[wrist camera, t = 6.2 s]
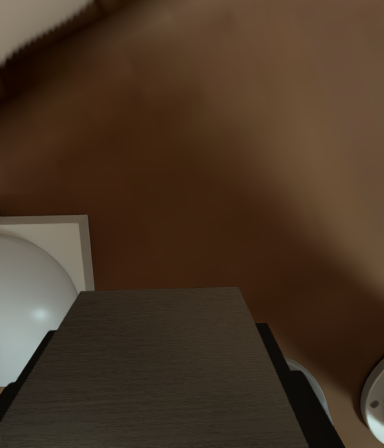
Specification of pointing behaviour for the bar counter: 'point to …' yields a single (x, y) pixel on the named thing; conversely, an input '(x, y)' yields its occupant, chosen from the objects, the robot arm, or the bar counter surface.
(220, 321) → the grey block with knob
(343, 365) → the bar counter surface
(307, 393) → the robot arm
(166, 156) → the bar counter surface
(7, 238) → the scale
